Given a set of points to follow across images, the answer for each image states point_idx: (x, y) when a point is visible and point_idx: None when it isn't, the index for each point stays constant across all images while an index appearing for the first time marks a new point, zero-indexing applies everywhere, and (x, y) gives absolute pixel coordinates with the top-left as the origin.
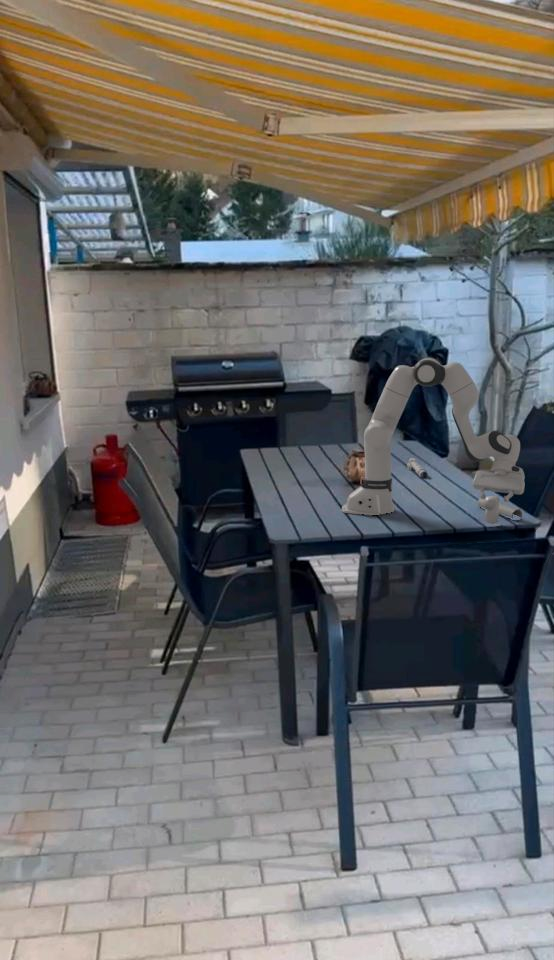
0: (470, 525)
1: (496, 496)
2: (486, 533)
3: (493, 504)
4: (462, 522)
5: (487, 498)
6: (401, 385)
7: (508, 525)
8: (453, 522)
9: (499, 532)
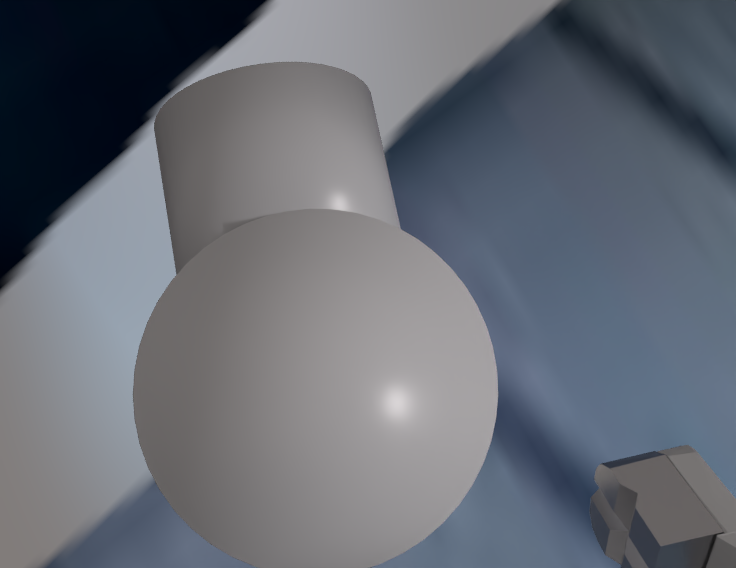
0: (494, 228)
1: (287, 554)
2: (189, 48)
3: (158, 121)
4: (633, 286)
5: (386, 225)
6: None
7: (113, 537)
8: (705, 222)
9: (79, 167)
